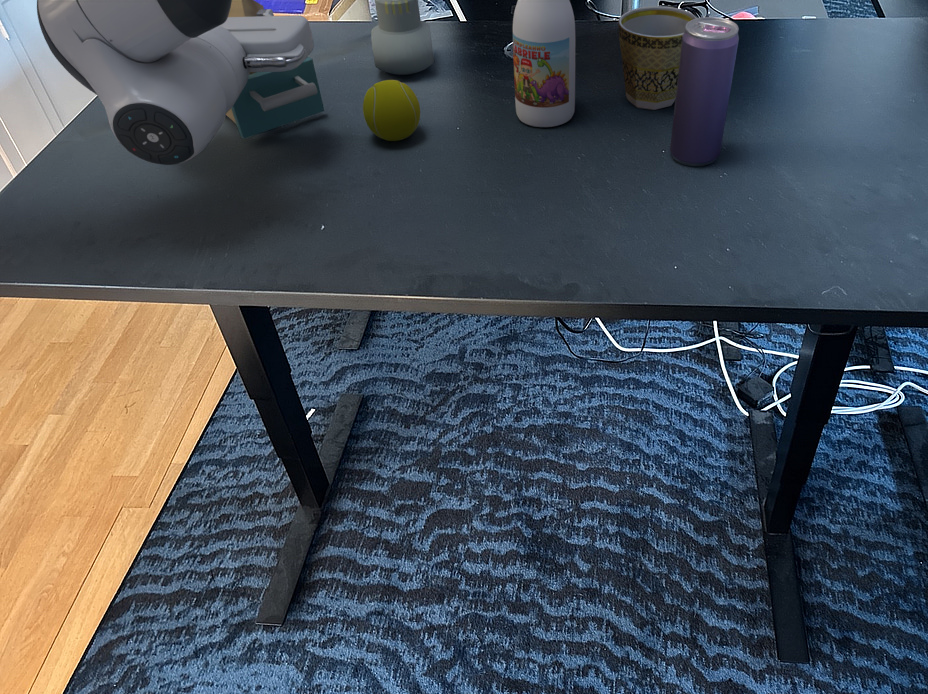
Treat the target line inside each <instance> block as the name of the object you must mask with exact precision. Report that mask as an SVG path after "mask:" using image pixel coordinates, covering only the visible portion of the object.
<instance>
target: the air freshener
mask: <svg viewBox="0 0 928 694" xmlns="http://www.w3.org/2000/svg"><path fill="white" fill-rule="evenodd" d="M374 6H375V12H376V18H377V25H375V26H374V27H373V28H372V29H371V31H370V33H371V37H370V38H371V49H372V55H373V61H374V65H375V68H376V69H379V70H380V71H382V72H385V73H388V74H392V75H396V76H397V75H398V76H399V75H400V76H405V75H414V74H418V73H420V72H422V71H424V70H426V69H428V68H429V67H431V66H432V65H433V64H434V63H435V57H434V49H433V42H432V32H431V25H430V24H429V23H427V22H426V21H423V20H422V19H421V13H420V5H419V0H374Z"/></svg>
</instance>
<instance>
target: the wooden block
mask: <svg viewBox="0 0 928 694" xmlns="http://www.w3.org/2000/svg"><path fill="white" fill-rule="evenodd" d="M259 9H265V7H264V5H263V4H261V3H260V2H258V1H256V0H232V3H231V8H230V12H229V15H228V17H257V15H256V14H257V12H258V11H259ZM254 73H257V72H249V75H250V74H254Z"/></svg>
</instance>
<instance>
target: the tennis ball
mask: <svg viewBox="0 0 928 694" xmlns="http://www.w3.org/2000/svg"><path fill="white" fill-rule="evenodd" d="M362 113H363V118H364V121H365V123H366V125H367V127H368V128H369V130H370V131H371V132H372V133H373V134H374V135H375V136H376V137H378V138H379V139H382V140H385V141H389V142H399V141H402V140H405V139H407V138H408V137H410V136H412V134H414V132H416V129H418V126H419V123H420V119H421V106H420V102H419V99H418V97H417V95H416V94H415V91H414V90H413V89H412V88H411V87H410V86H409V85H408V84H406V83H405V82H401V81H400V80H397V79H386V80H382V81H378V82H375V83H374V84H373V85H372V86H371V87H370V88H368V89H367V90H366V93H365V95H364V97H363V102H362Z"/></svg>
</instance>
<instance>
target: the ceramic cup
mask: <svg viewBox="0 0 928 694" xmlns="http://www.w3.org/2000/svg"><path fill="white" fill-rule="evenodd" d="M696 18H698V17H697V16H696V15H695V14H693V13H691V12H690V11H687V10H685V9H681V8H678V7H674V6H664V5H650V6H649V5H648V6H642V7H636V8H633V9H630V10H628V11H626V12H624V13H623V14H621V15H620V16H619V18H618V21H617V24H618V25H617V27H618V40H619V49H620V54H621V61H622V62H621V63H622V72H623V80H624V91H625V98H626V99H627V101H628V102H630V103H631V104H632V105H633V106H634V107H636V108H637V109H645V110H653V111H655V110H659V109H663V108H667V107H671V106H673V104H675V100H676V91H677V82H678V73H679V64H680V55H681V46H682V37H683V34H684V32H685V26H686V24H687V23H688V22H689V21H691V20H693V19H696Z"/></svg>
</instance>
